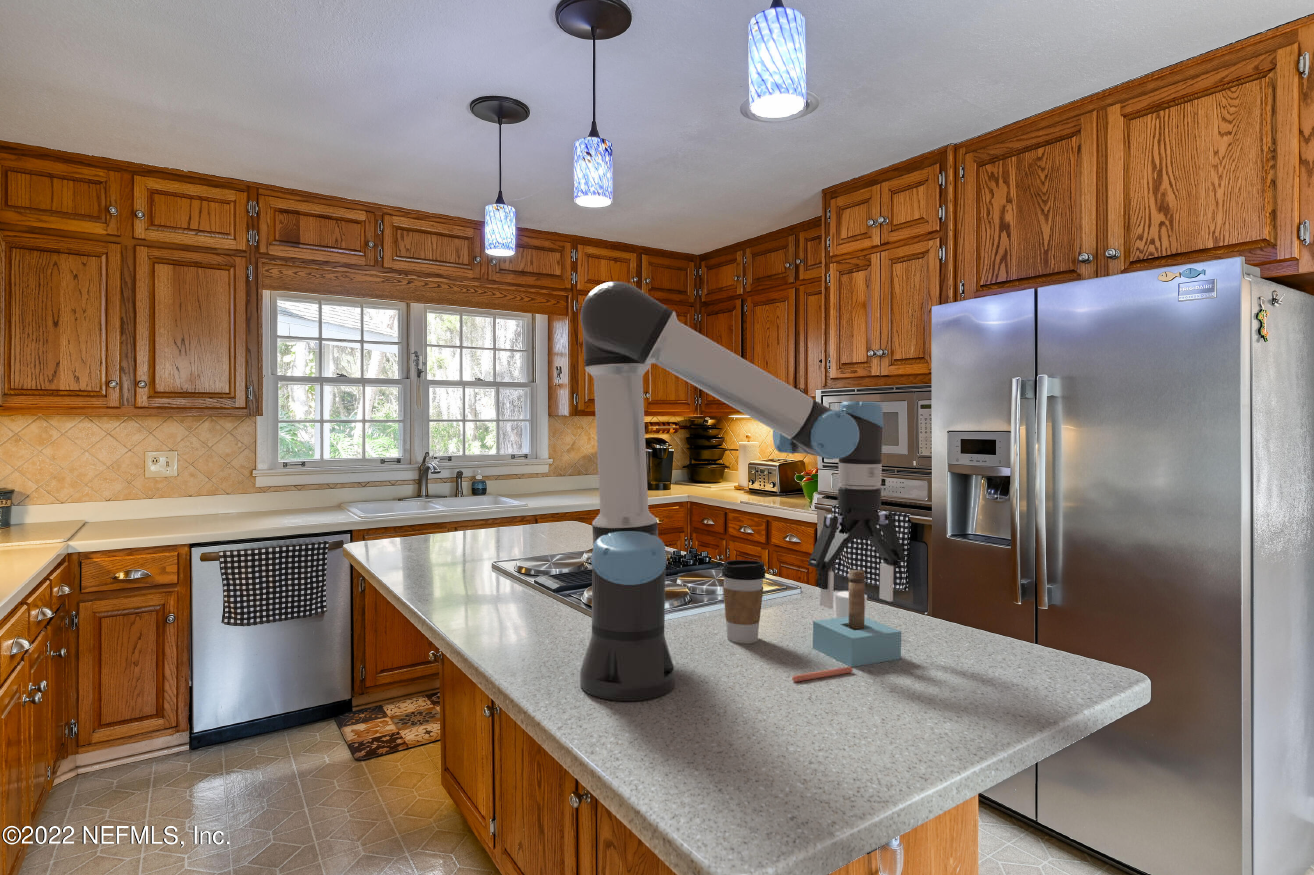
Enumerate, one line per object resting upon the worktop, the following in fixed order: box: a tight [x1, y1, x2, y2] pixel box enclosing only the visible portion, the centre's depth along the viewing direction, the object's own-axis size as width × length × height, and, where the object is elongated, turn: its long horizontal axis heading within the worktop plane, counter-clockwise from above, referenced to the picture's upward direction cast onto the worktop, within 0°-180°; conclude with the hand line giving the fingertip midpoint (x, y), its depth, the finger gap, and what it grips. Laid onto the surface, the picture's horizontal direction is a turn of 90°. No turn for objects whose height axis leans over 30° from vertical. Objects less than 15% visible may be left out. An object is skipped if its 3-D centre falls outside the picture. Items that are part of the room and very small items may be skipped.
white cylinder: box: [833, 590, 868, 618], centre depth 146 cm, size 7×7×7 cm
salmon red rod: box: [791, 666, 854, 683], centre depth 118 cm, size 12×1×1 cm, turn 114°
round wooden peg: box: [847, 569, 866, 630], centre depth 130 cm, size 3×3×15 cm
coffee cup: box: [721, 559, 766, 644], centre depth 138 cm, size 8×8×15 cm
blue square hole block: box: [812, 616, 902, 668], centre depth 130 cm, size 11×11×5 cm
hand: (856, 603), depth 130 cm, fingers open, 13 cm apart
